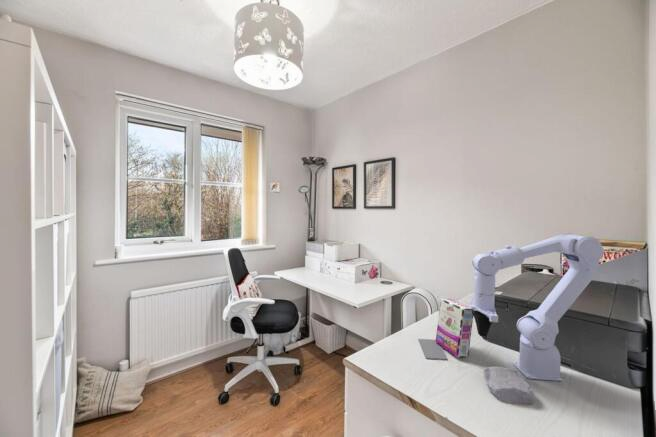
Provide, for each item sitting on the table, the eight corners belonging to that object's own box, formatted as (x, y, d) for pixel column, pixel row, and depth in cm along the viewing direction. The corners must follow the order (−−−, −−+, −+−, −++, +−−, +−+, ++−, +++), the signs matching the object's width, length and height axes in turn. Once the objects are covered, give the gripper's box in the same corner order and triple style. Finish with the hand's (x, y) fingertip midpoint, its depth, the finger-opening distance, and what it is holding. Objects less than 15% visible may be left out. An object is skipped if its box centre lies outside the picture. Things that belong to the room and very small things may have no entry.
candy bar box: (469, 357, 92) (475, 309, 92) (457, 358, 91) (463, 309, 91) (445, 341, 103) (451, 298, 103) (434, 342, 102) (439, 298, 101)
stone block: (496, 409, 72) (538, 406, 70) (492, 390, 72) (534, 387, 70) (480, 381, 84) (516, 379, 82) (477, 366, 84) (513, 363, 82)
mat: (437, 340, 104) (437, 339, 104) (447, 360, 91) (447, 359, 91) (418, 339, 105) (418, 338, 105) (425, 358, 92) (425, 357, 92)
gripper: (462, 285, 94) (460, 324, 94) (480, 300, 79) (478, 346, 80) (484, 286, 93) (482, 325, 94) (506, 301, 78) (504, 347, 79)
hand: (482, 335), depth 87 cm, fingers closed
